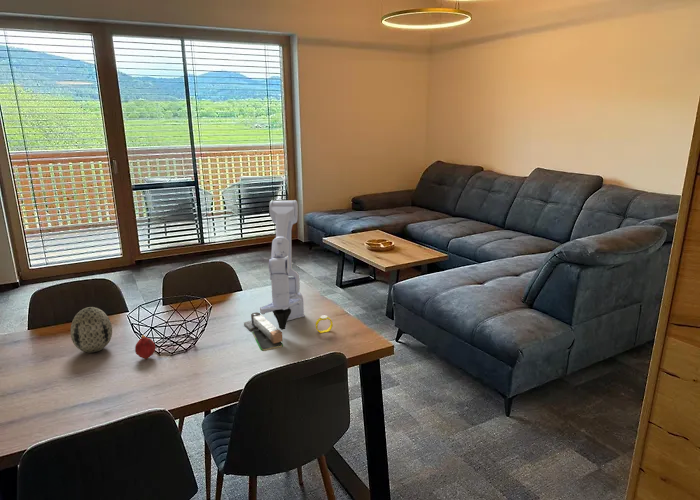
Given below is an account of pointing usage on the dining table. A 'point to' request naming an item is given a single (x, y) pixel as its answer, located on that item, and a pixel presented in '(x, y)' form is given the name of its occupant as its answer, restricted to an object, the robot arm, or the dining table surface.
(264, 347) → the smartphone
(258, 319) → the swing bar
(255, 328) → the pivot plate
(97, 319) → the decorative egg
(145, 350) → the onion
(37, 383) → the dining table surface
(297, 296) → the robot arm
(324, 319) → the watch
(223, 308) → the dining table surface
